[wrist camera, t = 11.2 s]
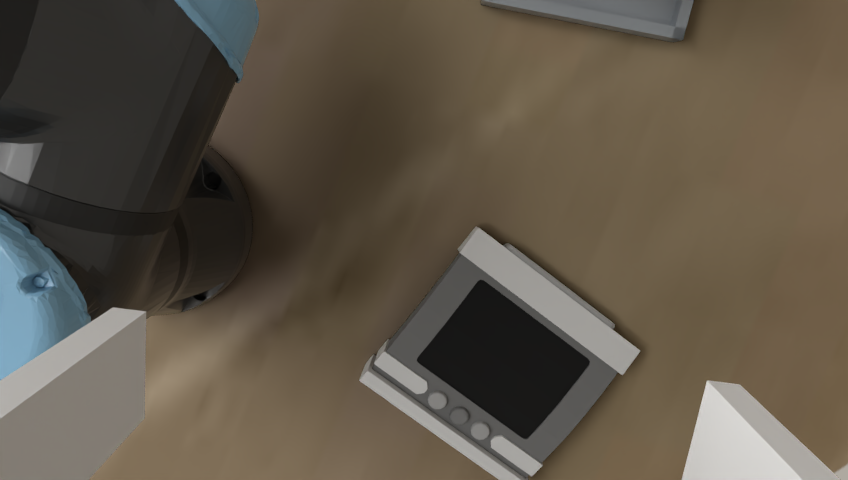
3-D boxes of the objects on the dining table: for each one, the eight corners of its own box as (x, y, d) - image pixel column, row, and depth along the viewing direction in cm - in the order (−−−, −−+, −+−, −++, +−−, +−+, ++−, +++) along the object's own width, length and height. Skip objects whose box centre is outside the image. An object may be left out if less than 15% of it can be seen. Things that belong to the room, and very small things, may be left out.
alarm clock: (359, 380, 50) (481, 232, 45) (368, 354, 54) (481, 217, 50) (519, 494, 51) (653, 363, 47) (516, 460, 56) (638, 337, 51)
